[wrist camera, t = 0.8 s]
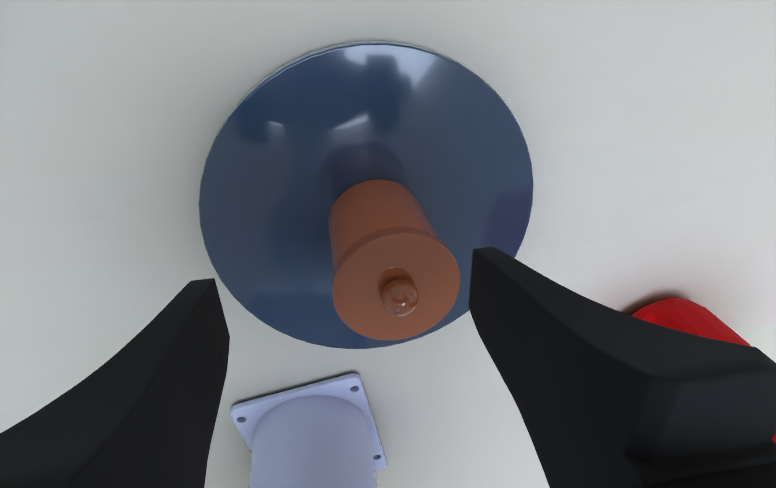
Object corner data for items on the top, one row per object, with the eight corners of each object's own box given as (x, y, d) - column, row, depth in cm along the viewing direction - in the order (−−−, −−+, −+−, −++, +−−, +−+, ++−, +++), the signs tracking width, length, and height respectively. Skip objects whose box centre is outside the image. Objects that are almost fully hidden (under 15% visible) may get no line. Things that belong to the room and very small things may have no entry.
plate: (528, 298, 27) (536, 308, 27) (266, 366, 27) (265, 379, 26) (520, 2, 19) (530, 3, 18) (138, 88, 18) (131, 94, 17)
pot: (431, 252, 23) (475, 341, 18) (338, 276, 23) (352, 374, 17) (417, 164, 21) (463, 234, 15) (312, 189, 21) (318, 270, 15)
